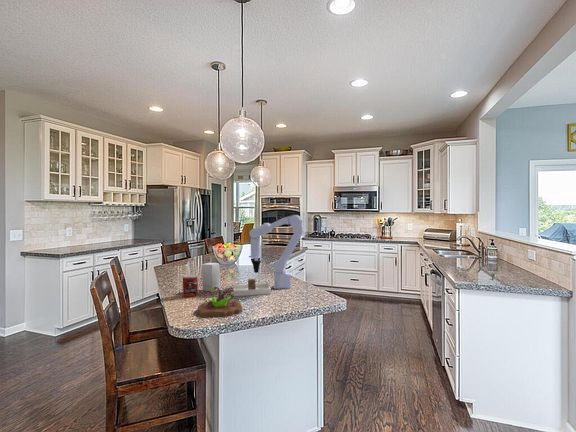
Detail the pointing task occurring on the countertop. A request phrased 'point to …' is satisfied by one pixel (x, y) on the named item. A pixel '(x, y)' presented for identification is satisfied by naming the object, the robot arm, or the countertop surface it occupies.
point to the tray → (260, 289)
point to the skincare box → (210, 276)
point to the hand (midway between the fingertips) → (256, 271)
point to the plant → (219, 306)
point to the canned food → (190, 285)
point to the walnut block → (251, 284)
